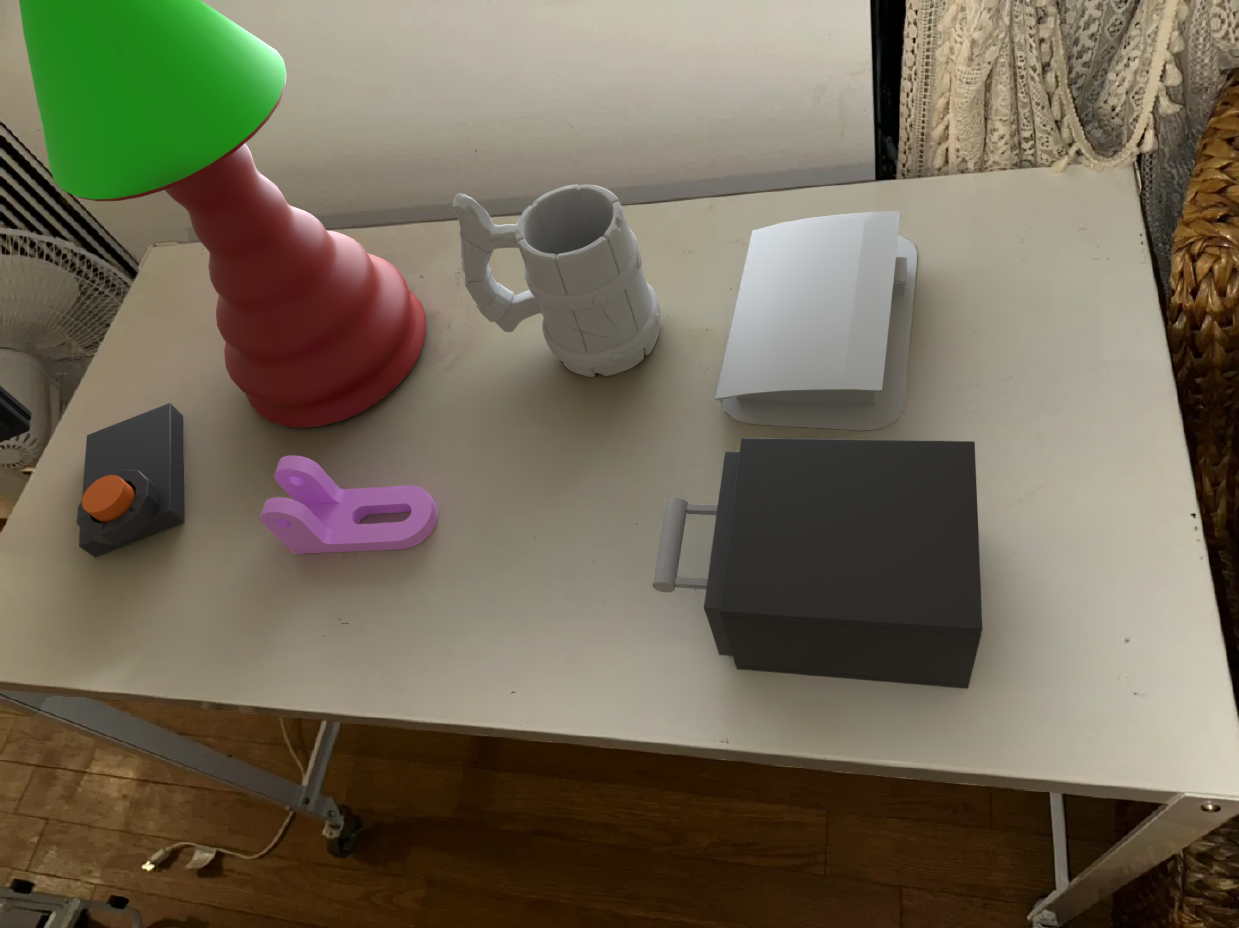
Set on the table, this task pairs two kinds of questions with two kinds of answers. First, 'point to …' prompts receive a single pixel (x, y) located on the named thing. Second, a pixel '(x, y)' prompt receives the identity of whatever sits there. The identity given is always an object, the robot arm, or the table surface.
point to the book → (822, 324)
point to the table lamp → (221, 195)
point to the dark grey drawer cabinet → (855, 560)
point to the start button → (108, 498)
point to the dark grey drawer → (713, 584)
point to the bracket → (343, 512)
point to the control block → (136, 478)
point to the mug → (567, 277)
